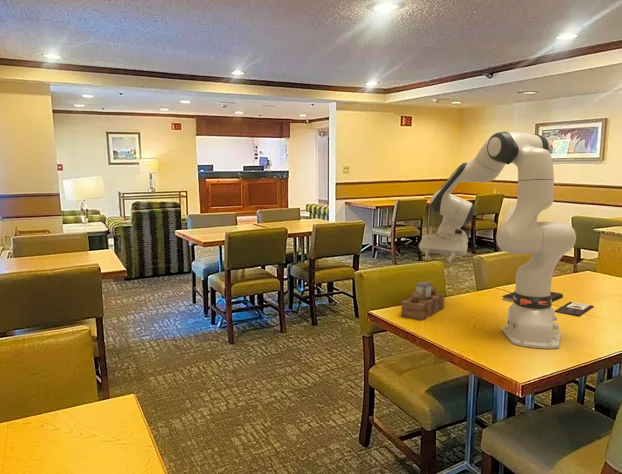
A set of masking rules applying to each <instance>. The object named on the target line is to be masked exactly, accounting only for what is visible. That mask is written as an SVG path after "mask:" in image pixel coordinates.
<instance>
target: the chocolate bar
mask: <svg viewBox="0 0 622 474" xmlns="http://www.w3.org/2000/svg"><path fill="white" fill-rule="evenodd" d="M594 307H595V306H594V305H591V304H587V303H586V304H585V303H580V302H575V301H569V302H567V303H566V304H564V305H562V306H560V307H559V308H557V309H554V310H555V313H558V314H563V315H568V316H574V317H578V318H579V317H581V316H582V315H585V314H586V313H587V312H589V311H590V310H591V309H593V308H594Z"/></svg>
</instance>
